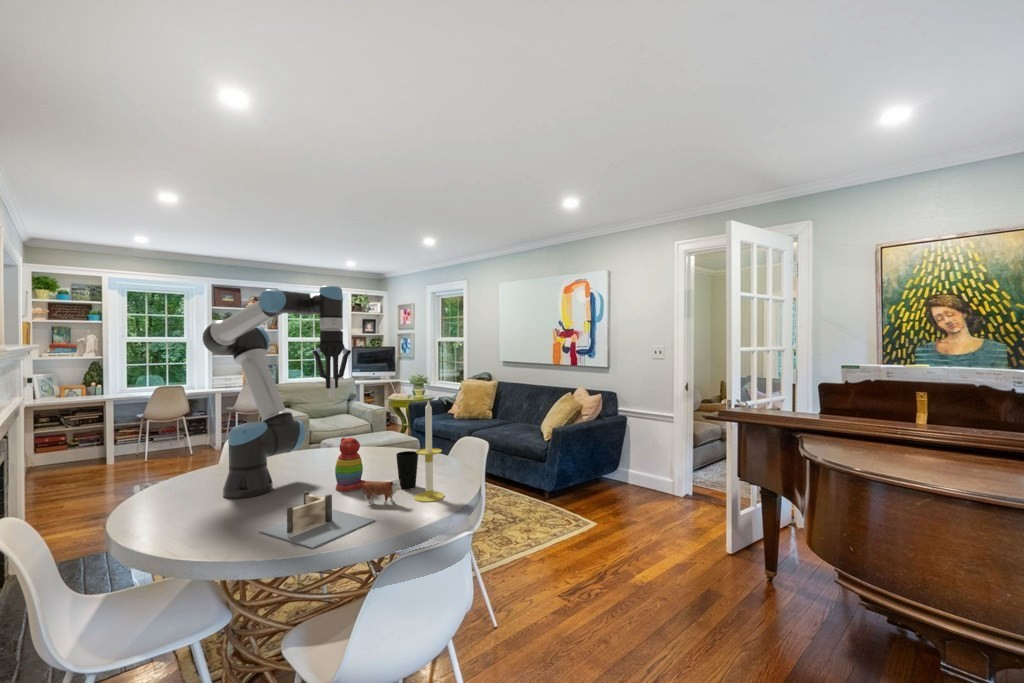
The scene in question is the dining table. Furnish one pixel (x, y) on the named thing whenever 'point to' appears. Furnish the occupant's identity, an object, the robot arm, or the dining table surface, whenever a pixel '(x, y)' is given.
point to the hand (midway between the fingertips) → (332, 397)
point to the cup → (407, 468)
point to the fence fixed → (328, 499)
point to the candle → (428, 462)
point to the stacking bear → (349, 466)
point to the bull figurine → (381, 489)
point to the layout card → (320, 530)
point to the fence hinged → (305, 515)
